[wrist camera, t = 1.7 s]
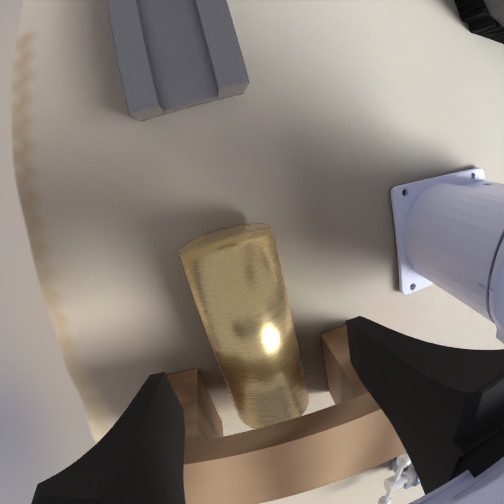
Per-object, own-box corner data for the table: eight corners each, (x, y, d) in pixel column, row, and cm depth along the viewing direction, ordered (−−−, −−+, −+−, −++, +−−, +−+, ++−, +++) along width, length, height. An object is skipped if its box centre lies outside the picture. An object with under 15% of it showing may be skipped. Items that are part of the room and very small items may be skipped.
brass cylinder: (264, 217, 19) (279, 239, 15) (299, 372, 23) (316, 417, 18) (183, 239, 19) (173, 267, 15) (235, 388, 23) (240, 437, 18)
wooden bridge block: (358, 320, 22) (419, 391, 14) (362, 379, 24) (410, 450, 16) (158, 376, 21) (145, 469, 13) (187, 429, 23) (187, 514, 15)
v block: (203, -46, 14) (203, -71, 11) (242, 93, 17) (249, 82, 14) (113, -22, 13) (101, -44, 10) (141, 121, 17) (129, 114, 14)
